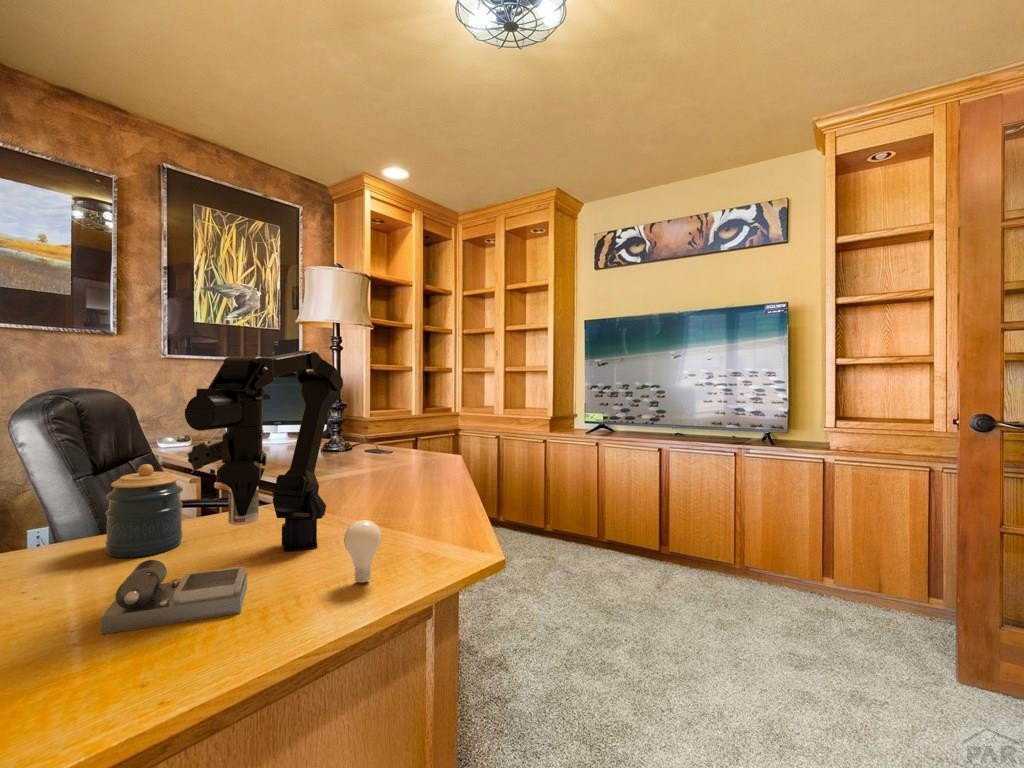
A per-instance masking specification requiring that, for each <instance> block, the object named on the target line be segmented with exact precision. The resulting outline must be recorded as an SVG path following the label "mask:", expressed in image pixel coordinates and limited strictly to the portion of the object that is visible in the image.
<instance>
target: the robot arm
mask: <svg viewBox="0 0 1024 768" xmlns="http://www.w3.org/2000/svg"><path fill="white" fill-rule="evenodd" d="M307 370H308V371H307ZM294 373H295V380H296V381H297V383H298V384H299V385H300V386H301V389H300V394H301V397H302V401H304V404H305V405H304V410H303V413H302V418H301V423H300V426H299V430H298V434H297V439H296V442H295V446H294V447H295V448H294V450H293V451H294V452H293V454H292V459H291V463H290V467H289V469H288V470H287V471H286V472H285V473H284V474H278V476H277V477H276V479H275V480H276V481H275V487H274V490H273V491H272V504H273V508H274V512H275V515H276V519H284V523H282V524H281V547H283V551H284V552H290V551H292V552H293V551H299V550H300V551H301V550H308V549H316V548H318V537H317V536H318V534H317V533H318V528H317V527H318V520H319V519H323V516H325V514H326V509H327V505H326V503H325V502H324V500H323V499H322V498H321V496H320V494H319V488H320V484H319V481H318V479H317V476H316V473H315V470H316V466H317V461H318V457H319V454H320V453H319V451H320V449H321V443H322V440H323V435H324V431H325V426H326V422H327V417H328V412H329V410H330V409H331V408H332V407H333V405H335V403H337V402H338V400H339V397H340V394H341V391H342V389H343V387H344V380H343V377H342V375H341V374H340V373H339V371H338V370H337V368H336V367H335V366H334V365H332V364H331V363H330V362H328V361H326V360H325V359H323V358H322V356H321V355H320V354H319V353H318V352H316V351H314V350H296V351H294V352H290V353H285V354H278V355H272V356H268V357H267V356H228V357H225V358H224V359H223V363H222V365H221V366H220V367H219V369H218V371H217V373H216V374H215V376H214V378H213V379H212V381H211V383H210V385H209V386H208V388H196V393H195V394H196V395H195V396H194V397H192V398H191V399H190V400H189V401H188V403H187V405H186V408H184V418H185V420H186V423H187V425H188V426H189V427H190V428H192V429H193V430H195V431H199V432H202V431H203V432H204V431H211V430H219V429H220V430H221V429H226V432H224V434H222V440H219V441H217V442H214V443H209V444H206V443H205V442H200V443H199V444H197V445H196V444H195V445H193V446H192V449H191V451H189V452H187V454H186V455H187V457H188V459H187V462H188V463H190V464H191V467H192V469H193V471H197V470H200V469H202V468H203V467H205V466H208V465H211V464H213V463H216V462H218V461H221V464H222V465H221V466H220V467H218V469H217V470H216V483H221V484H224V485H225V486H227V487H229V488H231V490H232V493H233V497H234V501H235V505H236V509H237V513H238V516H245V515H246V513H247V511H248V508H249V506H250V503H251V501H252V498H253V496H254V494H255V491H256V489H257V486H258V487H259V484H260V483H261V479H262V477H263V474H264V472H265V470H266V468H265V467H263V466H267V463H268V461H267V460H268V458H267V453H266V452H265V451H264V450H263V437H264V429H263V427H264V426H263V425H264V424H263V423H264V420H263V418H264V417H263V416H264V415H263V414H264V401H270V400H271V395H270V394H268V393H267V392H266V391H265V390H264V389H263V388H265V387H267V386H268V385H271V384H272V383H274V381H275V379H276V378H278V377H283V376H286V375H290V374H294Z"/></svg>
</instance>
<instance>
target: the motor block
mask: <svg viewBox="0 0 1024 768" xmlns="http://www.w3.org/2000/svg"><path fill="white" fill-rule="evenodd" d="M167 573H168V571H167V567H166V565H165V564H164V563H163V562H162V561H160V560H157V559H148V560H145V561H142V562H141V563H139V564H138V565H136V567H135V568H134V569H133V571H132V572H131V573H130V574H129V575H128V576H127V577H126V578H125V580H124V581H122V583H121V584H120V585H119V587H117V589H116V591H115V599H114V601H113V602H112V603H111V605H110V606H109V607H108V608H107V609H106V610H105V612H104V613H103V614H102V615H101V616H100V622H101V623H100V624H101V625H100V628H101V629H100V634H101V636H102V635H107V634H109V635H110V634H113V633H114V634H115V633H120V632H127V631H134V630H140V629H141V630H142V629H146V628H152V627H161V626H166V625H173V624H179V623H185V622H192V621H199V620H206V619H212V618H219V617H225V616H226V617H227V616H233V615H239V614H241V611H242V608H243V605H244V601H245V596H246V592H247V590H248V573H247V572H246V566H242V567H241V566H235V567H226V568H219V569H212V570H211V569H209V570H201V571H193V572H192V571H191V573H185V574H184V575H183V577H182V578H181V579H174V580H172V581H171V582H167V583H163V582H164V580H165V579H166V577H167Z"/></svg>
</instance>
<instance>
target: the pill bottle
mask: <svg viewBox="0 0 1024 768" xmlns="http://www.w3.org/2000/svg"><path fill="white" fill-rule="evenodd" d="M259 491H260V490H259V485H258V486H257V489H256V491H255V494H254V496H253V498H252V501H251V503H250V506H249V508H248V511H247V513H246V515H245V516H238V513H237V509H236V505H235V501H234V497H233V493H232V490H231V488H230V487H229V488H228V519H227V521H228V524H230V525H233V526H244V525H249V524H253V523H254V524H255V522H257V521H258V520H259Z"/></svg>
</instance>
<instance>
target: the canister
mask: <svg viewBox="0 0 1024 768" xmlns="http://www.w3.org/2000/svg"><path fill="white" fill-rule="evenodd" d="M154 470H155V469H154V467H153V465H152V464H149V463H147V464H146V463H144V464H141V465H140V466H139V467H138V469H137V473H129V474H124V475H122V476H120V477H119V478H118V479H116V480H115V481H113V482H111V485H110V486H111V487H113V490H112V491H110V492H108V493H107V494H106V495H105V499H106V500H107V501H108V502H109V503H108V509H107V510H106V511H105V515H106V540H105V550H106V555H108V556H109V557H110V558H111V557H113V558H117V559H121V558H122V559H123V558H125V559H126V558H127V557H131V558H140V557H139V556H141V557H147V556H151V555H152V554H153V555H157V554H160V553H165V552H167V551H170V550H173V549H175V548H176V547H179V546H180V544H181V543H182V538H183V530H182V529H183V528H182V522H183V521H182V520H183V518H182V517H183V516H182V515H183V514H182V513H183V512H182V511H183V509H182V507H183V506H184V503H183V502H182V501H181V495H180V494H181V493H182V492H183V490H184V488H183V487H182V486H180V485H178V484H177V481H179V477H178V476H176V475H173V474H172V473H171V472H168V471H154Z"/></svg>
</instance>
